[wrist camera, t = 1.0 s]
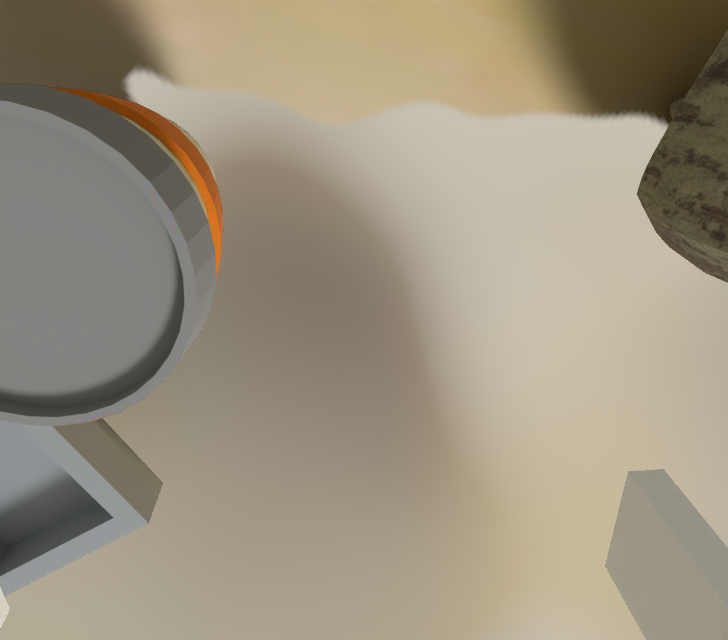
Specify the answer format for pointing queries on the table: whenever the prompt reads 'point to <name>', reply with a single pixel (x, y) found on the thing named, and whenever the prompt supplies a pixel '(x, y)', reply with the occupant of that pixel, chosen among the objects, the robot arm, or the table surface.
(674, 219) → the tabletop clock
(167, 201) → the reusable coffee cup
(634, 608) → the robot arm
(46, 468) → the grey tray
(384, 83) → the table surface
